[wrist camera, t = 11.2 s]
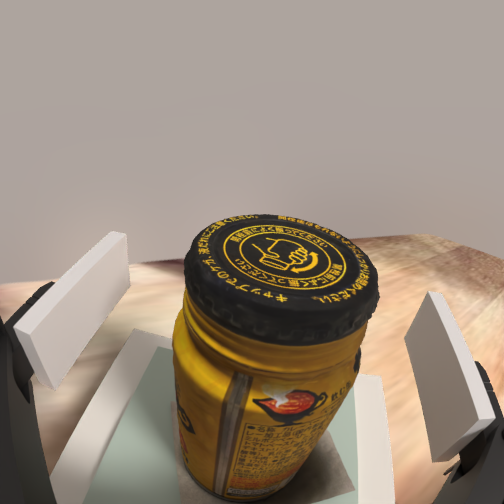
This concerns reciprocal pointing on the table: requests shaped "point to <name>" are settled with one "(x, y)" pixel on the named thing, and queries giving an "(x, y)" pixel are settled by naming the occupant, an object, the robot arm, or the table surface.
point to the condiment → (266, 360)
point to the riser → (162, 442)
